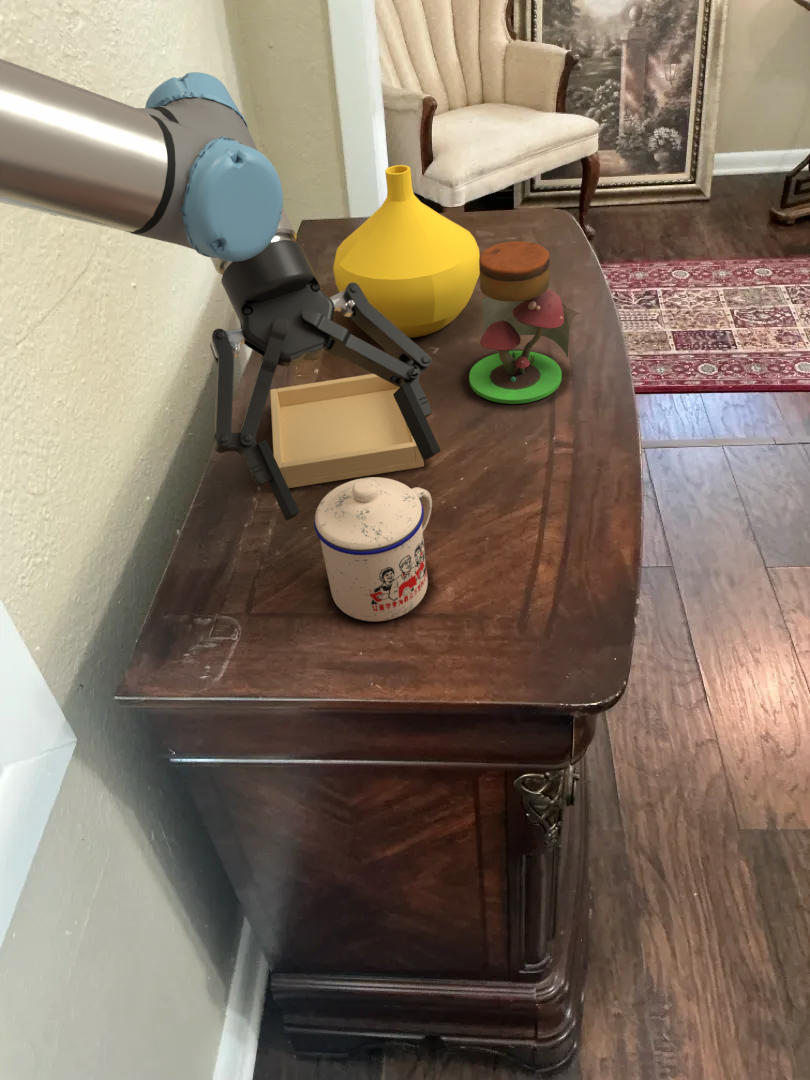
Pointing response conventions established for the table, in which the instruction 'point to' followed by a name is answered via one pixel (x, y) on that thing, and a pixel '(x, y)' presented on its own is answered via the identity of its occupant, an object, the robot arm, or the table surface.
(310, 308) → the robot arm
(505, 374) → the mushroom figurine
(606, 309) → the table surface
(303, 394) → the wooden tray
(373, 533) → the teacup with lid
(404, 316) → the vase
